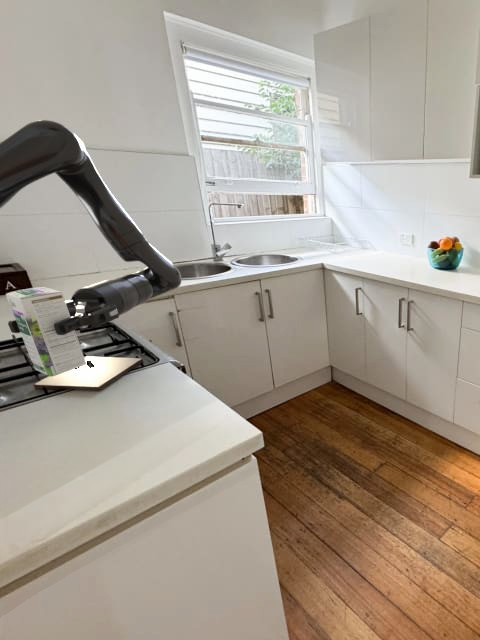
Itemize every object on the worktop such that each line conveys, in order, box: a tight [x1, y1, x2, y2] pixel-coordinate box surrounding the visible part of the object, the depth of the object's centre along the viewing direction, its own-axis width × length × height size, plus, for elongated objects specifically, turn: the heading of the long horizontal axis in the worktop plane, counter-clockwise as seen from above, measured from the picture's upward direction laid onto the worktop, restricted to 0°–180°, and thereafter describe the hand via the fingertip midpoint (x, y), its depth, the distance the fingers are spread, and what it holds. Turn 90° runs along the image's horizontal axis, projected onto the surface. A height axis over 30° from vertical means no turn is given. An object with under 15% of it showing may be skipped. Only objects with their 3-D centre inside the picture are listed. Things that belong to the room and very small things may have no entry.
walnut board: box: [33, 356, 144, 392], centre depth 88 cm, size 14×14×1 cm
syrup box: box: [5, 286, 86, 377], centre depth 67 cm, size 6×6×14 cm
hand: (34, 328), depth 65 cm, fingers closed on syrup box, 7 cm apart
